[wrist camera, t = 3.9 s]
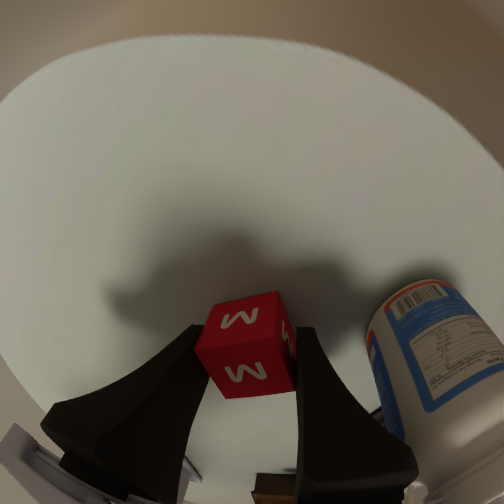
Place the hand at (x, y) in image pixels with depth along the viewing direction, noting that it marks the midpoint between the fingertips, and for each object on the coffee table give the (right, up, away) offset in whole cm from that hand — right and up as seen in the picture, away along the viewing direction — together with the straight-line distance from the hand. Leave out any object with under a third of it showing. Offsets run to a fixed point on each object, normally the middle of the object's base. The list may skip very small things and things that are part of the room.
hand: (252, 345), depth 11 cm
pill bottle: (+8, 0, 0) cm, 8 cm away
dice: (0, +1, +2) cm, 2 cm away
